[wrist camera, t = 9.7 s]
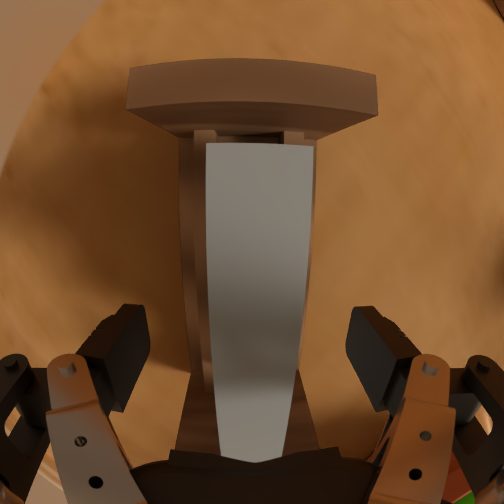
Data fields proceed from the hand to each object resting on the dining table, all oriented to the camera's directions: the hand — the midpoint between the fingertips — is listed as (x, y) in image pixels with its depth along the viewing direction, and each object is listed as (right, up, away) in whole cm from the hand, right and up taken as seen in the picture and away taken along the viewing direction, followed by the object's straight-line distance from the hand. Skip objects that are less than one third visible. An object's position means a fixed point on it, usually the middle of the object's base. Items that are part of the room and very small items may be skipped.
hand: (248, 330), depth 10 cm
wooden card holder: (0, +2, +8) cm, 9 cm away
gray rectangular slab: (0, +2, +7) cm, 7 cm away
